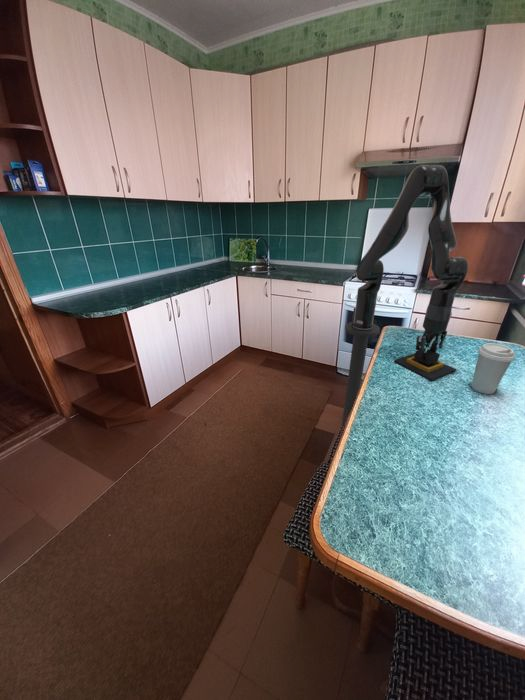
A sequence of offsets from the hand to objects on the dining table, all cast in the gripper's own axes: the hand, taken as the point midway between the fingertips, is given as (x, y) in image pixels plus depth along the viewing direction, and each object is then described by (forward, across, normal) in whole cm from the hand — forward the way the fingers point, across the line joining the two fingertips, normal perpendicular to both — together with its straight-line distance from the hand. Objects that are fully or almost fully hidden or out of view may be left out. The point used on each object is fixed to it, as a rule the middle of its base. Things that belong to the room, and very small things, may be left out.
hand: (426, 358), depth 109 cm
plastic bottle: (+4, -21, -10) cm, 24 cm away
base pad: (+4, 0, 0) cm, 4 cm away
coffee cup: (+4, -4, +19) cm, 20 cm away
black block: (+1, 0, 0) cm, 1 cm away
